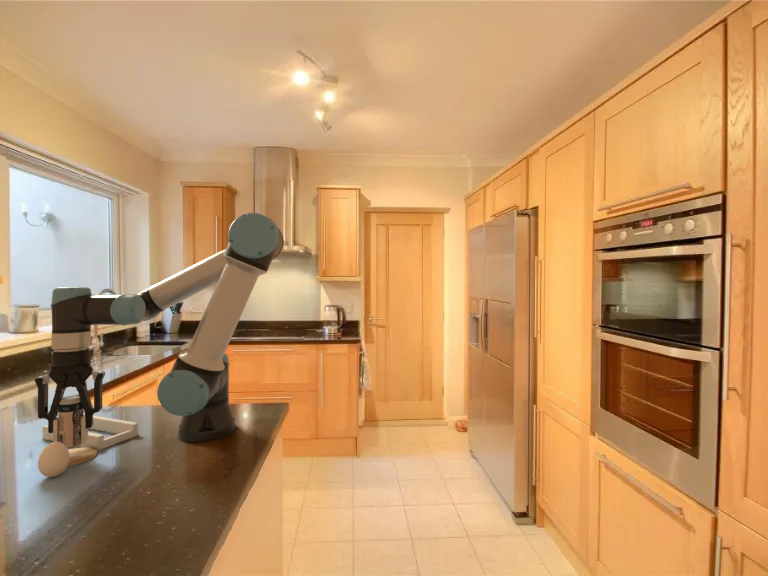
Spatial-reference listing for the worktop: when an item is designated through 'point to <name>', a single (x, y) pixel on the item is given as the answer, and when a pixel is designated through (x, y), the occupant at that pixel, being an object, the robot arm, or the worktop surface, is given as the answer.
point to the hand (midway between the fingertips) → (71, 443)
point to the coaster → (81, 455)
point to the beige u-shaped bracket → (118, 427)
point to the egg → (53, 459)
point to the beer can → (70, 421)
